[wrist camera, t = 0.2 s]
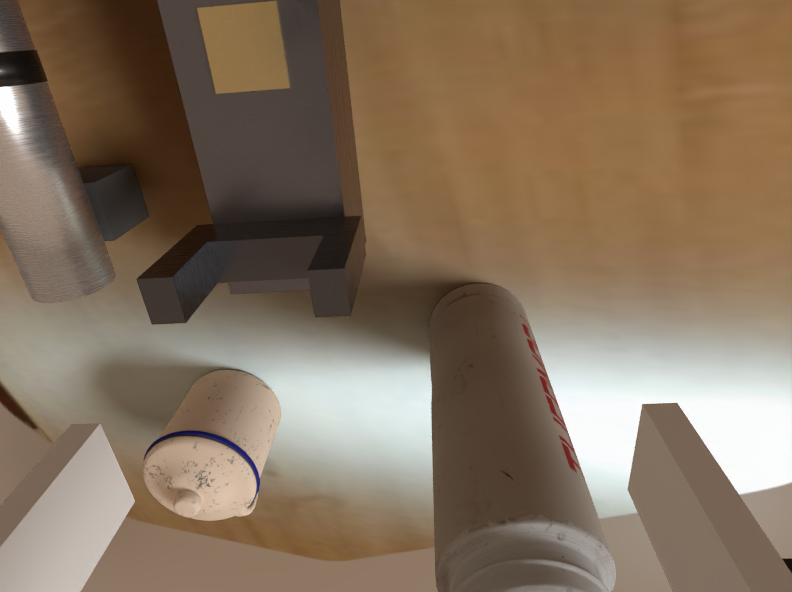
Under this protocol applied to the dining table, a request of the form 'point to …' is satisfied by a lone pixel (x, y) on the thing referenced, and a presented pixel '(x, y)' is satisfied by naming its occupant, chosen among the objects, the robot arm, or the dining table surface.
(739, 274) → the dining table surface
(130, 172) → the posts
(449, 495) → the thermos bottle
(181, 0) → the grey cradle stand
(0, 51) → the tube
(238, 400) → the teacup with lid
